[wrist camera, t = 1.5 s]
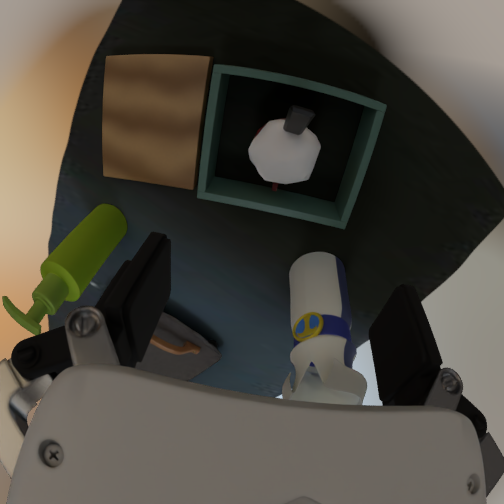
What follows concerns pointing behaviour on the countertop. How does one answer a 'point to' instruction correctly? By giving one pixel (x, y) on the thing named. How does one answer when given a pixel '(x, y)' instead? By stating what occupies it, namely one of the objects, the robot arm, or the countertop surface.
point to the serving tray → (178, 351)
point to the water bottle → (322, 334)
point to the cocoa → (286, 148)
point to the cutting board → (154, 117)
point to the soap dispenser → (72, 265)
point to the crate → (279, 199)
